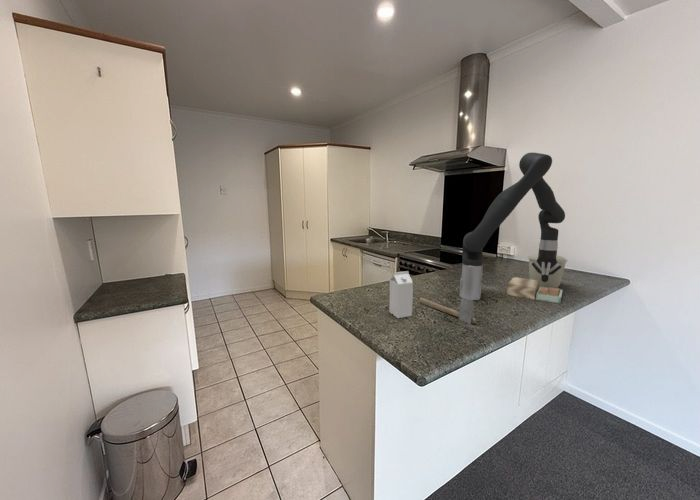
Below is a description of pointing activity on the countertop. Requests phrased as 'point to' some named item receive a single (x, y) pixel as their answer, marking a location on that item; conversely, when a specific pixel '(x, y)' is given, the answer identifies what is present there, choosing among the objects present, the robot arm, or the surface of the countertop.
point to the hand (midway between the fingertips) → (544, 281)
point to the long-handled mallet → (464, 314)
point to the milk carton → (401, 294)
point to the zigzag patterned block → (523, 287)
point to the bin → (549, 296)
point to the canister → (552, 279)
